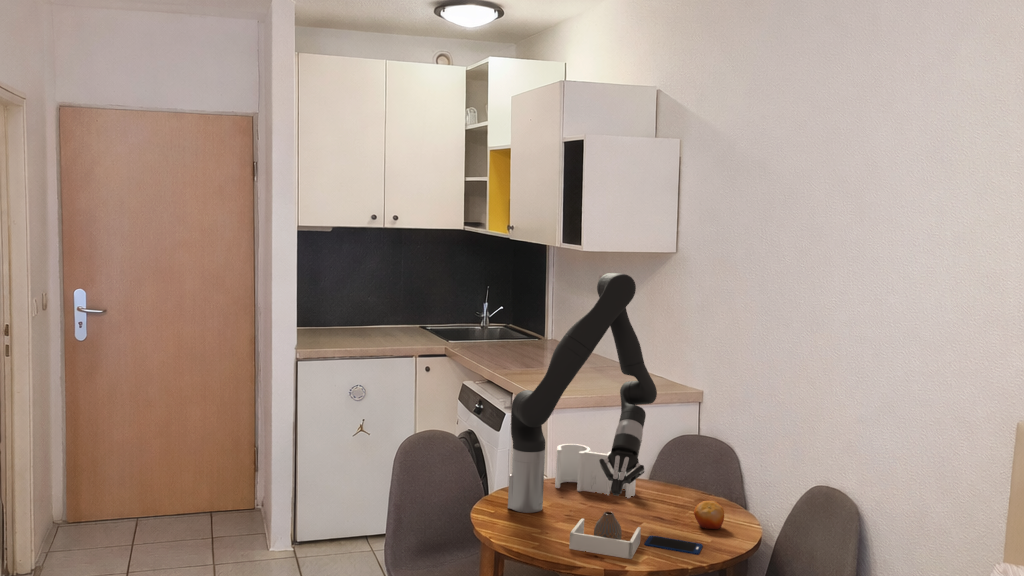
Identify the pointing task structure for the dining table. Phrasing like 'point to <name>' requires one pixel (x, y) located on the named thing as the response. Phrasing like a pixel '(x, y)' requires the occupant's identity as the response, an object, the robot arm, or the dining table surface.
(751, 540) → the dining table surface
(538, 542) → the dining table surface
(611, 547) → the frame
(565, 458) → the bracket
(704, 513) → the fruit
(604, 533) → the vase
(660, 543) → the cell phone
